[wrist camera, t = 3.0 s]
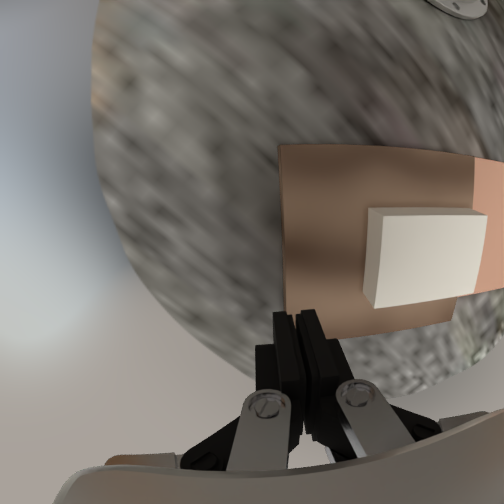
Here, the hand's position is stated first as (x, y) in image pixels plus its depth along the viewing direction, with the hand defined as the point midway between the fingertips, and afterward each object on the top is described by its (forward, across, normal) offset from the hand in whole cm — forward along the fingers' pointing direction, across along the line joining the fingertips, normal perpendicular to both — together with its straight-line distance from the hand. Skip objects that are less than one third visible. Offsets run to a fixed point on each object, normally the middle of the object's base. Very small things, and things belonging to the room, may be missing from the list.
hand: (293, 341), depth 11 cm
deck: (+10, -8, -1) cm, 13 cm away
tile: (+8, -10, -1) cm, 13 cm away
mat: (+10, -22, -1) cm, 24 cm away
